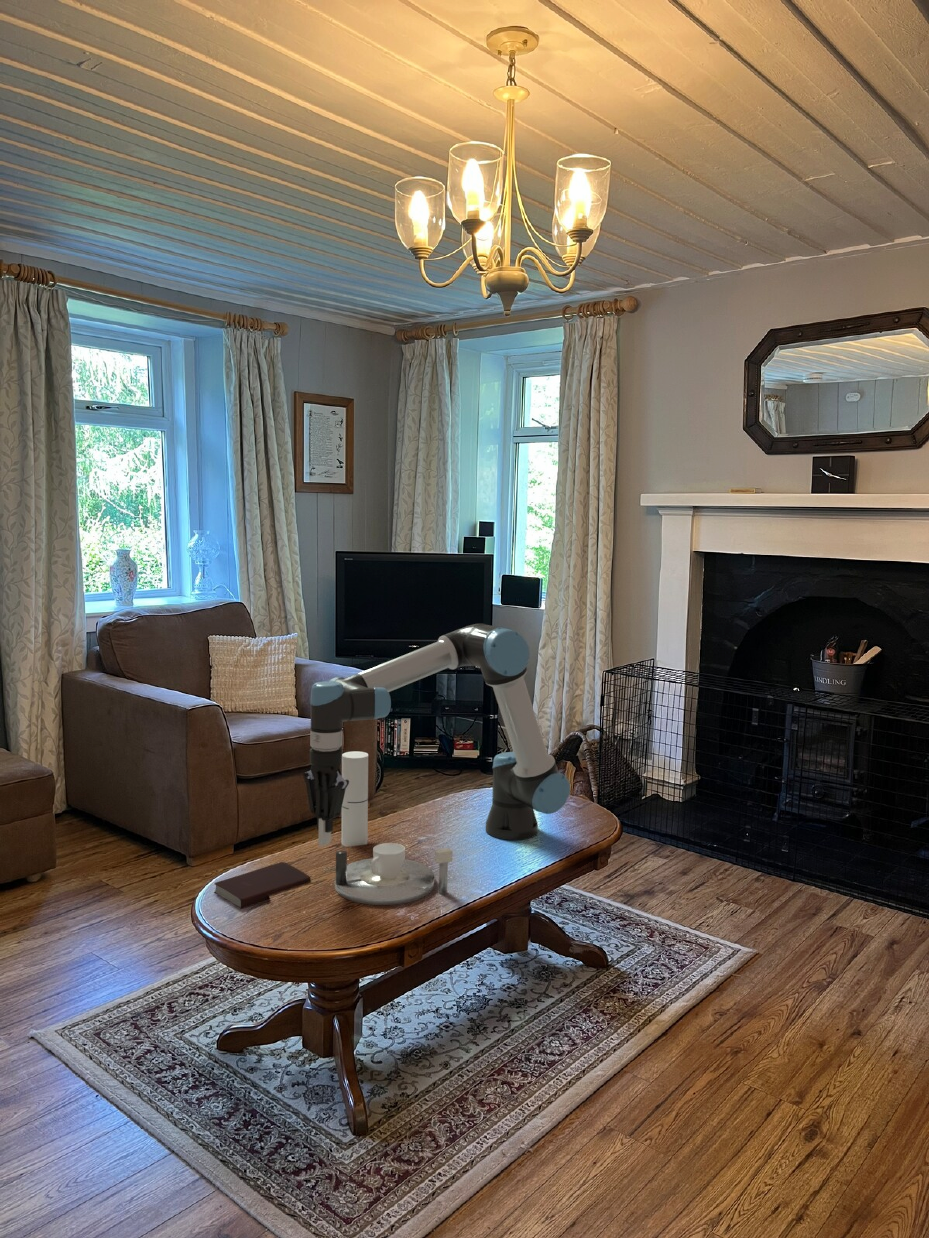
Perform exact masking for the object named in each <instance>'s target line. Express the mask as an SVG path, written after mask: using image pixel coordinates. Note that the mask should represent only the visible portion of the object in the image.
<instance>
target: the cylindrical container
mask: <svg viewBox="0 0 929 1238" xmlns="http://www.w3.org/2000/svg"><path fill="white" fill-rule="evenodd" d="M341 776H342V778H343V779H344V780H348V781H349V784H348V786H347V787H346V790H345V794H344V799H343V804H342V808H341V845H342V846H343V847H346V848H349V847H356V846H357V847H358V846H363V845H368V827H369V825H368V823H369V822H368V821H369V818H368V817H369V816H368V815H369V814H368V813H369V811H368V810H369V808H368V807H369V753H368V752H365V751H354V750H353V751H346V752H344V753H343V752H342V763H341Z"/></svg>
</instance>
